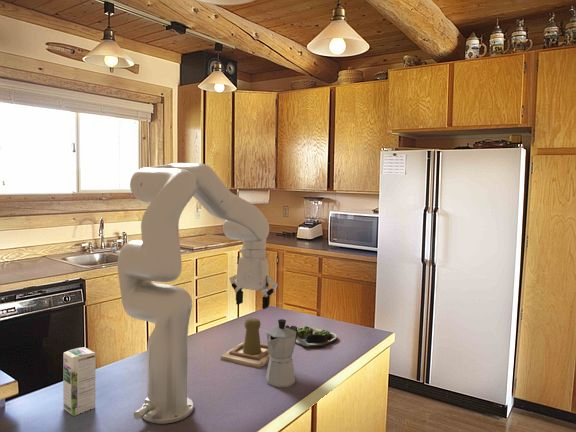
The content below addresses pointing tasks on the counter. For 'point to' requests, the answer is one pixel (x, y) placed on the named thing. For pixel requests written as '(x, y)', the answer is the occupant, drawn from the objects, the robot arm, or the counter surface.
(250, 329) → the cork
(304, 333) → the salad plate
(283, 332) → the coffee maker
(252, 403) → the counter surface
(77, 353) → the syrup box
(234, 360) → the maple board
